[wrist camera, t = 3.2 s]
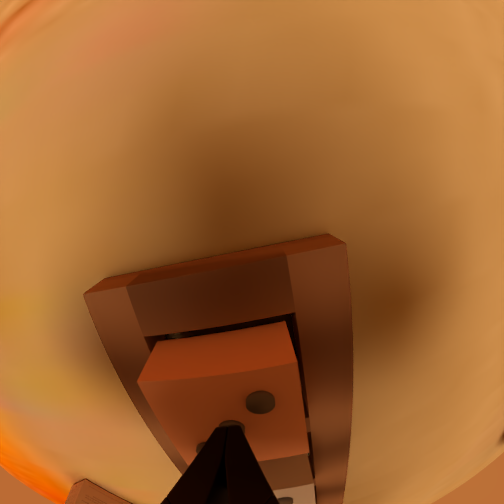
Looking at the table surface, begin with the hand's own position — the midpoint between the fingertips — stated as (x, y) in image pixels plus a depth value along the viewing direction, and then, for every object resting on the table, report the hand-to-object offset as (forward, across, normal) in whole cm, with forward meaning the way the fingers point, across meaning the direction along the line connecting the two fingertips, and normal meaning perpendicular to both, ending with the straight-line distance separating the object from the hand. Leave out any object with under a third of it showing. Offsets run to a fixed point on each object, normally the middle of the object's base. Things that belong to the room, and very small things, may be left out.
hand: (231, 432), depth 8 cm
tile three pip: (+3, 0, 0) cm, 3 cm away
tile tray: (+5, 0, +7) cm, 8 cm away
